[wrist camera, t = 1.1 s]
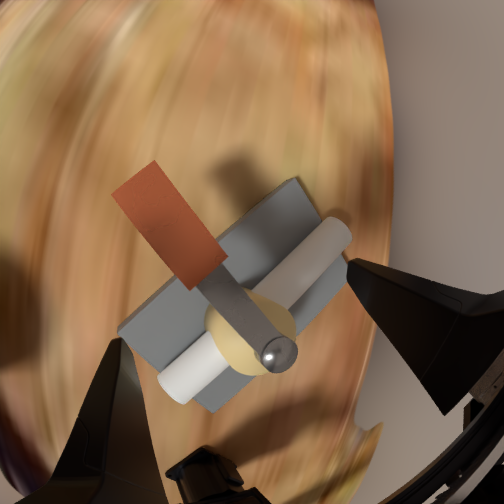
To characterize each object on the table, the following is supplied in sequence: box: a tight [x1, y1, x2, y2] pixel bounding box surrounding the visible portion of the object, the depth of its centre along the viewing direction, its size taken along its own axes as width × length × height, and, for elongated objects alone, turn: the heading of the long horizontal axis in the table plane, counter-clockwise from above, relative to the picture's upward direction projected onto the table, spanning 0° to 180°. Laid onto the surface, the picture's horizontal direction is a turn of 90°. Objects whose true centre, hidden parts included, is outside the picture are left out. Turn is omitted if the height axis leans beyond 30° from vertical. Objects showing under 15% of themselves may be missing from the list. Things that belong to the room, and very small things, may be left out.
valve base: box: [117, 178, 352, 413], centre depth 22 cm, size 20×12×8 cm, turn 128°
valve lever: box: [111, 160, 298, 373], centre depth 15 cm, size 14×3×2 cm, turn 38°
